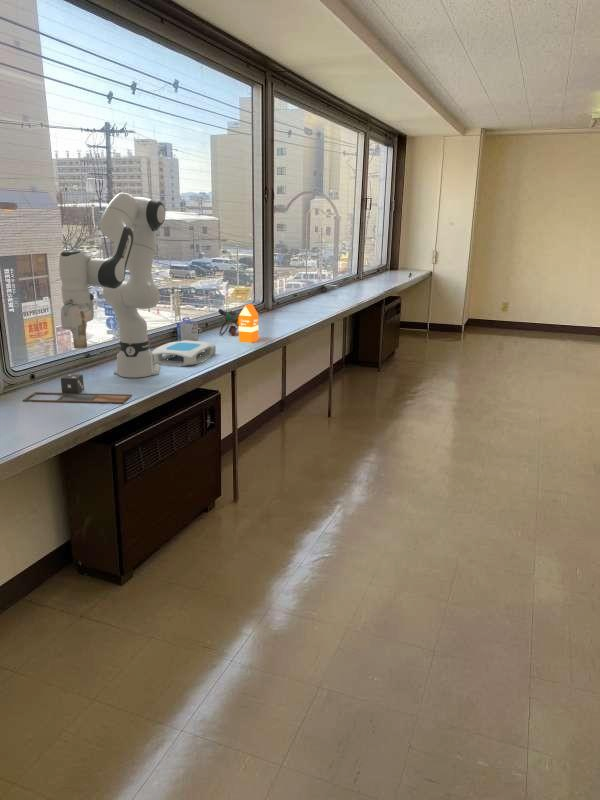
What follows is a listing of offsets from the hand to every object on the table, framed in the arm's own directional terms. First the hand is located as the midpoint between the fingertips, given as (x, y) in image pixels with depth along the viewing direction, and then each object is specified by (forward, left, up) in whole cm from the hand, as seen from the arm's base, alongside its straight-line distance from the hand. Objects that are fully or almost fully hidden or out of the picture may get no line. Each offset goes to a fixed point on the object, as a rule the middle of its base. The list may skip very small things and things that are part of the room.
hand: (79, 337), depth 210 cm
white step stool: (-67, +22, -23) cm, 74 cm away
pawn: (0, 0, -4) cm, 4 cm away
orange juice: (-112, +48, -23) cm, 124 cm away
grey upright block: (-97, +18, -23) cm, 101 cm away
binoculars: (-129, +36, -23) cm, 136 cm away
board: (0, -3, -23) cm, 23 cm away
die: (-9, -8, -23) cm, 26 cm away
